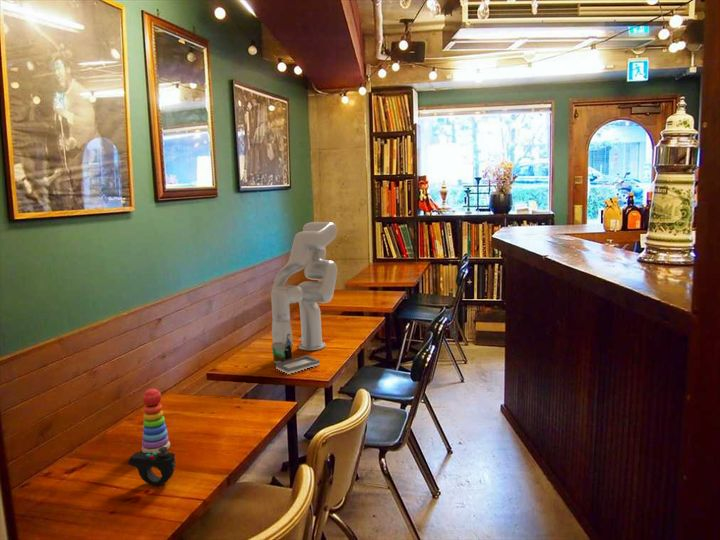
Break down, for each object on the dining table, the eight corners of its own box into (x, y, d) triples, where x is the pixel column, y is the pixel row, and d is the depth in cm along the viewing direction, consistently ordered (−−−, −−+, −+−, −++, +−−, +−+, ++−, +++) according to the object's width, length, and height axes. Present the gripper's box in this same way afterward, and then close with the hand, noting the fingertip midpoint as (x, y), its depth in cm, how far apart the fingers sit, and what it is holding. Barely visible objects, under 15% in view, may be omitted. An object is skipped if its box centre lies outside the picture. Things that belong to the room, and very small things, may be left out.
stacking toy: (166, 455, 160) (160, 394, 157) (138, 457, 160) (131, 396, 157) (173, 442, 168) (167, 384, 165) (146, 444, 167) (140, 386, 164)
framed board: (276, 369, 231) (275, 363, 231) (307, 360, 241) (306, 355, 241) (288, 374, 224) (288, 369, 224) (319, 365, 234) (319, 360, 233)
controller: (172, 489, 142) (168, 453, 140) (128, 486, 144) (124, 450, 142) (180, 480, 146) (176, 445, 144) (138, 477, 148) (134, 443, 146)
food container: (285, 367, 234) (283, 344, 232) (272, 365, 236) (271, 343, 234) (299, 358, 245) (297, 336, 243) (286, 357, 247) (285, 335, 246)
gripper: (263, 315, 242) (266, 354, 245) (284, 322, 229) (287, 363, 231) (278, 312, 247) (281, 350, 249) (299, 318, 233) (302, 359, 236)
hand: (284, 356), depth 240 cm, fingers open, 6 cm apart
